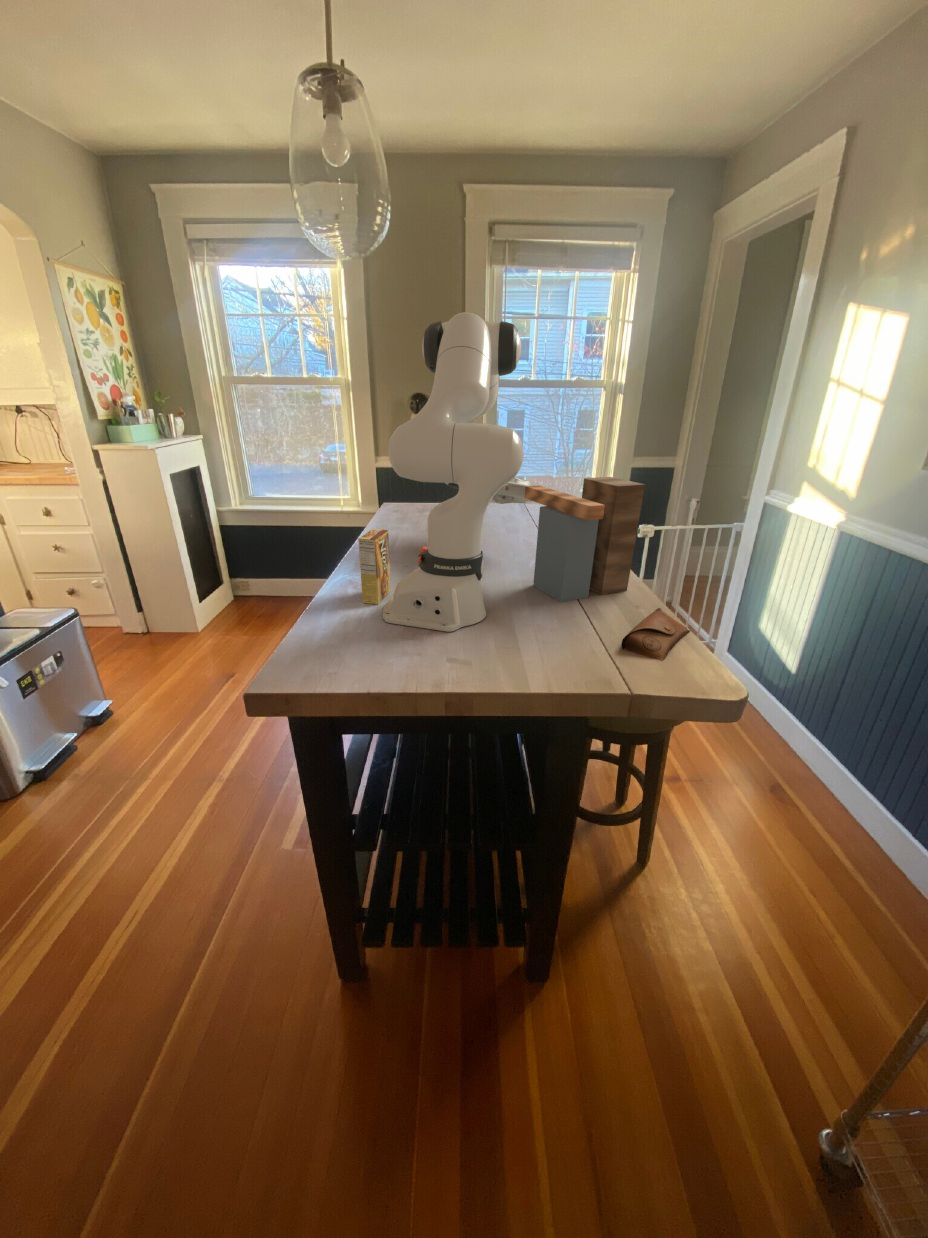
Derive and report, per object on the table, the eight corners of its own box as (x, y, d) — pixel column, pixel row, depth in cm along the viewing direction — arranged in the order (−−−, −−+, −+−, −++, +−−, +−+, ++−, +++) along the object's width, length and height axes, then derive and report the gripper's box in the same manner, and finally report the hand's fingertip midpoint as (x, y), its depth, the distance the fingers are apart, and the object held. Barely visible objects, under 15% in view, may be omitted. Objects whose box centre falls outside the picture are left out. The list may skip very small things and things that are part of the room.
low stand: (533, 585, 123) (539, 506, 115) (559, 581, 126) (567, 504, 118) (560, 602, 113) (570, 517, 105) (588, 597, 116) (599, 514, 108)
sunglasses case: (665, 662, 88) (652, 628, 87) (629, 668, 93) (617, 636, 92) (692, 629, 101) (681, 600, 100) (659, 636, 106) (649, 608, 105)
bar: (524, 498, 124) (525, 486, 123) (537, 497, 125) (538, 485, 124) (587, 520, 103) (589, 506, 101) (602, 518, 104) (604, 504, 103)
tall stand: (572, 579, 128) (584, 478, 117) (596, 575, 131) (610, 476, 120) (601, 595, 118) (617, 486, 107) (626, 590, 121) (645, 484, 110)
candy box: (375, 589, 118) (371, 528, 112) (391, 591, 118) (388, 529, 111) (362, 603, 110) (357, 538, 104) (379, 605, 110) (375, 539, 103)
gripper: (469, 471, 136) (488, 471, 124) (532, 482, 144) (556, 483, 132) (466, 493, 138) (484, 496, 125) (528, 503, 145) (552, 507, 133)
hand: (522, 489), depth 129 cm, fingers open, 8 cm apart
